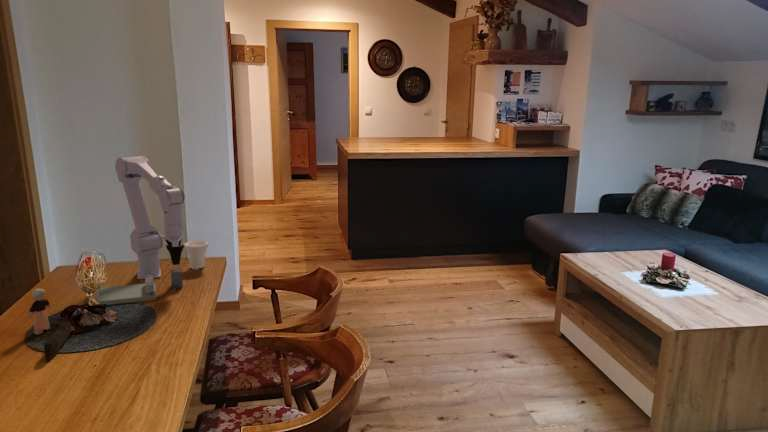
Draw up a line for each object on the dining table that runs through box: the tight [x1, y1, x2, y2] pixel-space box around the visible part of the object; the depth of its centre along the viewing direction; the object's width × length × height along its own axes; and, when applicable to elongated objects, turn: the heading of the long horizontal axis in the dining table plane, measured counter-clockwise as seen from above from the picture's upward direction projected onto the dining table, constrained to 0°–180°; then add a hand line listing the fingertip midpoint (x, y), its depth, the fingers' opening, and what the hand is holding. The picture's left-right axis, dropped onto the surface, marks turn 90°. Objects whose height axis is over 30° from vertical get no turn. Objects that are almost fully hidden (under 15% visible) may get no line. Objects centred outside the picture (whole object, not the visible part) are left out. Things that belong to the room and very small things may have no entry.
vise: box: [86, 281, 157, 306], centre depth 184 cm, size 13×20×5 cm, turn 112°
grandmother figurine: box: [27, 287, 52, 335], centre depth 157 cm, size 8×4×13 cm, turn 179°
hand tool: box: [43, 319, 72, 362], centre depth 149 cm, size 19×4×5 cm, turn 12°
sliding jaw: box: [144, 275, 155, 294], centre depth 187 cm, size 10×2×3 cm, turn 22°
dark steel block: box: [170, 267, 184, 290], centre depth 194 cm, size 4×4×6 cm
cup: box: [182, 240, 209, 270], centre depth 213 cm, size 9×9×10 cm
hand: (175, 261), depth 192 cm, fingers open, 7 cm apart
